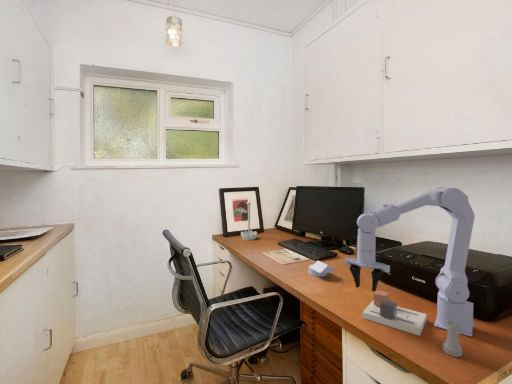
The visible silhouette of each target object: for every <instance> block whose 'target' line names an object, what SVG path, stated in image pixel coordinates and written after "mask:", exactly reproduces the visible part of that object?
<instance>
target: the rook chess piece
mask: <svg viewBox="0 0 512 384" xmlns="http://www.w3.org/2000/svg"><path fill="white" fill-rule="evenodd" d="M446 327H447V328H448V330H446V333H447V334H446V340H445V341H444V342H443V344H442V351H444V353H445V354H447V355H448V356H451V357H454V358H460V357H462V356H463V354H464V353H463V348H462V346H461V344H460V339H459V336H460V335H461V334H460V333H458V332H459V330H460V327H459V324H458V323H455V324H454V322H453V321H452V323H450V321H448V323H447V324H446Z"/></svg>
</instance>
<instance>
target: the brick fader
mask: <svg viewBox="0 0 512 384" xmlns="http://www.w3.org/2000/svg"><path fill="white" fill-rule="evenodd" d="M383 299H384V300H388V301H390V292H388V291H383V290H379V289H376V291H375V292H373V300H374V305H377V306H380V303H381V302H382V301H383Z"/></svg>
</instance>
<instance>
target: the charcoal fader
mask: <svg viewBox="0 0 512 384" xmlns="http://www.w3.org/2000/svg"><path fill="white" fill-rule="evenodd" d="M397 306H398V305H397V302H396V301H392V300H389V301H388V300H384V299H383V301H382V302H381V303H380V316H383V317H387V318H390V319H394V318H395V316H396V309H397Z"/></svg>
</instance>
